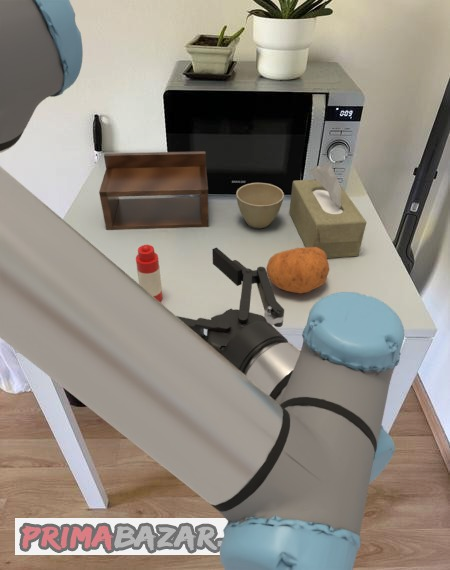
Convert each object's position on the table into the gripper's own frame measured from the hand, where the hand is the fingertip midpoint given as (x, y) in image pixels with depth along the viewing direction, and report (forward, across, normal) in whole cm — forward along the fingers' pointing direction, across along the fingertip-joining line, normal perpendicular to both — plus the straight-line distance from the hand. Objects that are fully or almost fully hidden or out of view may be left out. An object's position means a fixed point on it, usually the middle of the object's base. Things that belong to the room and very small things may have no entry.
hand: (174, 270), depth 64 cm
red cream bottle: (+10, 0, -12) cm, 16 cm away
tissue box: (+9, +40, -13) cm, 43 cm away
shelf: (+35, +14, -12) cm, 40 cm away
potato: (-1, +24, -13) cm, 27 cm away
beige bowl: (+20, +31, -13) cm, 39 cm away
